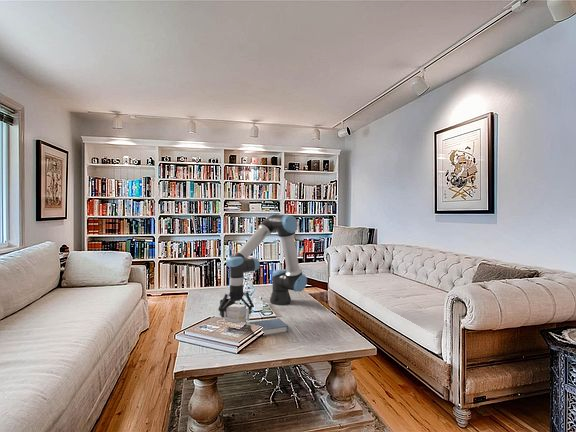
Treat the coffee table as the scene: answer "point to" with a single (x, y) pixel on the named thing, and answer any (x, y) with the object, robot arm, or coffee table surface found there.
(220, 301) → the mug
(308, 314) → the coffee table surface
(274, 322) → the book
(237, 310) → the ink box
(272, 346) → the coffee table surface
